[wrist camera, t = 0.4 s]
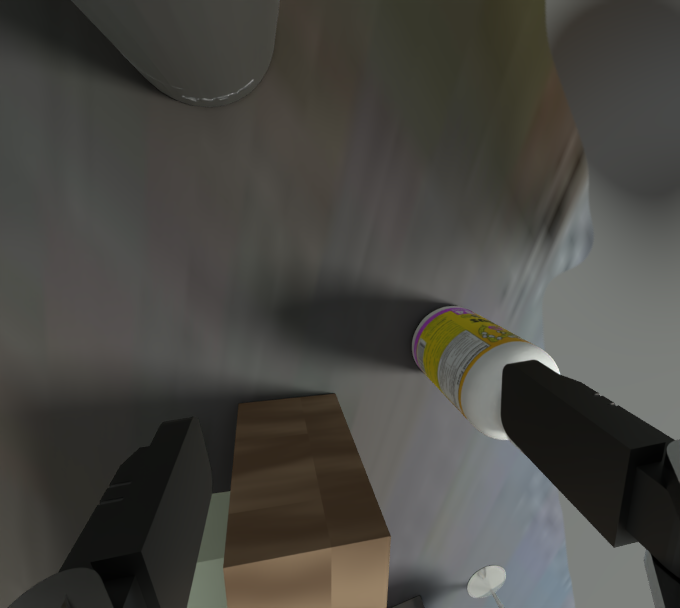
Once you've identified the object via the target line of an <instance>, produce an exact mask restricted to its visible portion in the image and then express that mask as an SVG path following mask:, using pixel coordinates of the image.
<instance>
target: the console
mask: <svg viewBox="0 0 680 608" xmlns="http://www.w3.org/2000/svg"><path fill="white" fill-rule="evenodd" d="M390 540H391V536H390V533H389V531H388V528H387V525H386V523H385V520H384V518H383V515H382V513H381V510H380V507H379V505H378V502H377V500H376V497H375V494H374V492H373V489H372V487H371V484H370V482H369V479H368V476H367V474H366V471H365V469H364V466H363V464H362V461H361V458H360V456H359V453H358V451H357V448H356V446H355V443H354V440H353V438H352V435H351V433H350V430H349V428H348V425H347V422H346V420H345V417H344V415H343V412H342V410H341V407H340V404H339V402H338V399H337V397H336V394H326V395H316V396H307V397H297V398H288V399H278V400H269V401H259V402H249V403H240V404H239V406H238V416H237V427H236V437H235V448H234V458H233V469H232V479H231V490H230V500H229V511H228V521H227V532H226V542H225V553H224V563H223V573H224V582H225V591H226V600H227V608H387V591H388V574H389V557H390Z"/></svg>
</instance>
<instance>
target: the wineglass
mask: <svg viewBox="0 0 680 608" xmlns="http://www.w3.org/2000/svg"><path fill="white" fill-rule="evenodd" d="M505 578H506V573H505V571H504V569H503V568H502V567H500V566H495V565H492V566H487V567H485V568H482V569H481V570H479V571H478V572H476V573H475V574H474V575H473V576H472V577H471V579H470V581H469V583H468V587H467V590H468V593H469V594H470V596H472V597H474V598H485V597H488V596H490V595H493V597H494V599H495V601H496V603H497V605H498V607H499V608H505V607H504V606H503V604H502V603H501V601H500V600H499V598H498V597H497V595H496V593H495V592H497V591H498V590H499V589H500V588H501V587H502V585H503V583H504V582H505Z"/></svg>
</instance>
